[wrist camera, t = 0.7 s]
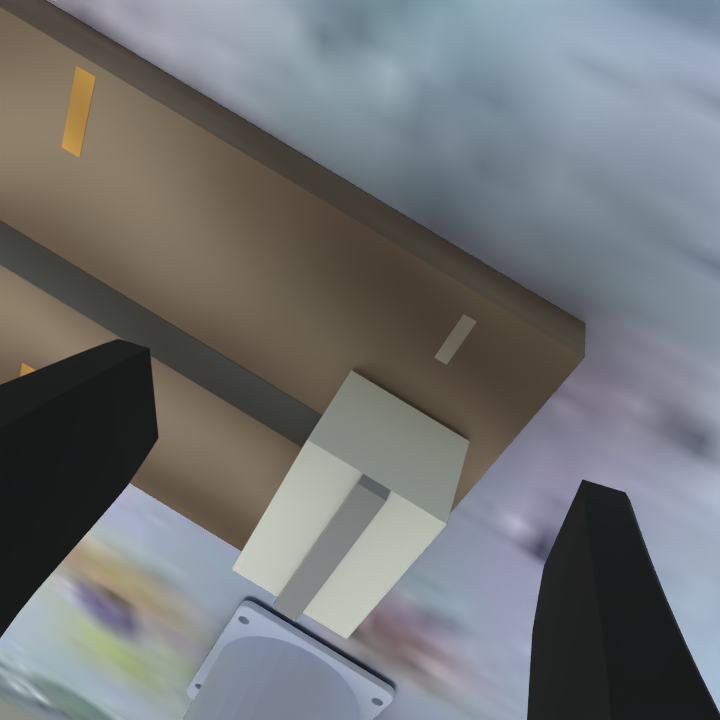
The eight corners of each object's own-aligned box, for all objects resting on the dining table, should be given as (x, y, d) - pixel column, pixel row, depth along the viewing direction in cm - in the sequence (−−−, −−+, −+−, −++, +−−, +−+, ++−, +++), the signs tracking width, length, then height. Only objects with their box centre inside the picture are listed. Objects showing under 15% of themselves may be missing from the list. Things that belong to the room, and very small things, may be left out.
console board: (371, 581, 26) (356, 621, 25) (-90, 300, 26) (-136, 322, 25) (585, 323, 18) (584, 358, 17) (-74, -71, 19) (-140, -77, 17)
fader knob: (379, 554, 22) (342, 650, 19) (279, 493, 22) (225, 579, 19) (469, 441, 19) (443, 535, 16) (351, 370, 19) (301, 449, 16)
